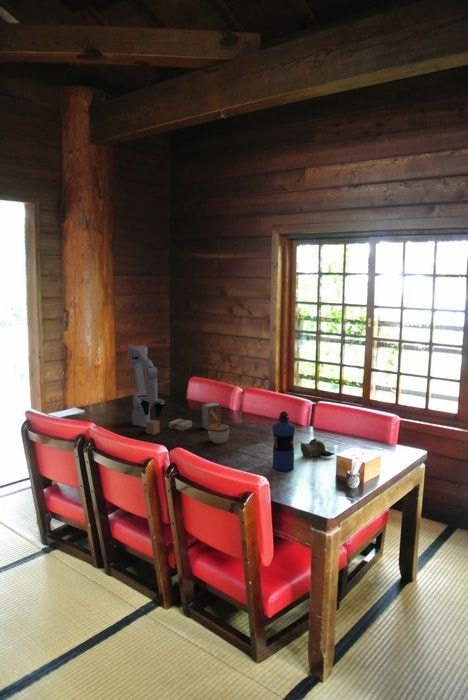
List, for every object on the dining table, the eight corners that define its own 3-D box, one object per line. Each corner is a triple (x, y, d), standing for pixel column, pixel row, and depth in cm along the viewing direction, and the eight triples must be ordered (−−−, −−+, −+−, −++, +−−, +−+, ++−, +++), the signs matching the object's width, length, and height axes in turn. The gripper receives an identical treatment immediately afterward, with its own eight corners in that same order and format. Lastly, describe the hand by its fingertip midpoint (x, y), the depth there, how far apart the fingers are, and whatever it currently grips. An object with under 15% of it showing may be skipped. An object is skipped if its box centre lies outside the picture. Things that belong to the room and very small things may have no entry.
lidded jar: (224, 446, 257) (224, 427, 256) (204, 443, 261) (204, 425, 260) (232, 439, 267) (232, 421, 266) (213, 437, 271) (212, 419, 270)
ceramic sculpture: (296, 435, 245) (325, 434, 250) (295, 453, 246) (323, 452, 251) (306, 443, 235) (336, 441, 240) (304, 461, 236) (334, 460, 241)
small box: (208, 430, 283) (208, 406, 281) (202, 427, 288) (202, 404, 286) (221, 427, 287) (220, 404, 285) (215, 425, 292) (214, 402, 290)
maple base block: (168, 428, 287) (168, 422, 286) (178, 424, 294) (178, 418, 294) (182, 431, 282) (182, 425, 282) (192, 427, 290) (192, 420, 289)
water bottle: (292, 464, 234) (293, 409, 230) (295, 472, 224) (296, 414, 221) (271, 464, 233) (271, 409, 230) (273, 472, 224) (274, 415, 220)
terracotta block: (146, 433, 278) (145, 422, 277) (152, 430, 282) (151, 419, 282) (153, 434, 276) (153, 423, 275) (159, 432, 280) (159, 421, 279)
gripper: (136, 390, 276) (136, 415, 278) (157, 393, 269) (158, 419, 271) (144, 388, 282) (145, 412, 284) (166, 391, 275) (167, 416, 277)
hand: (152, 416), depth 278 cm, fingers open, 7 cm apart
